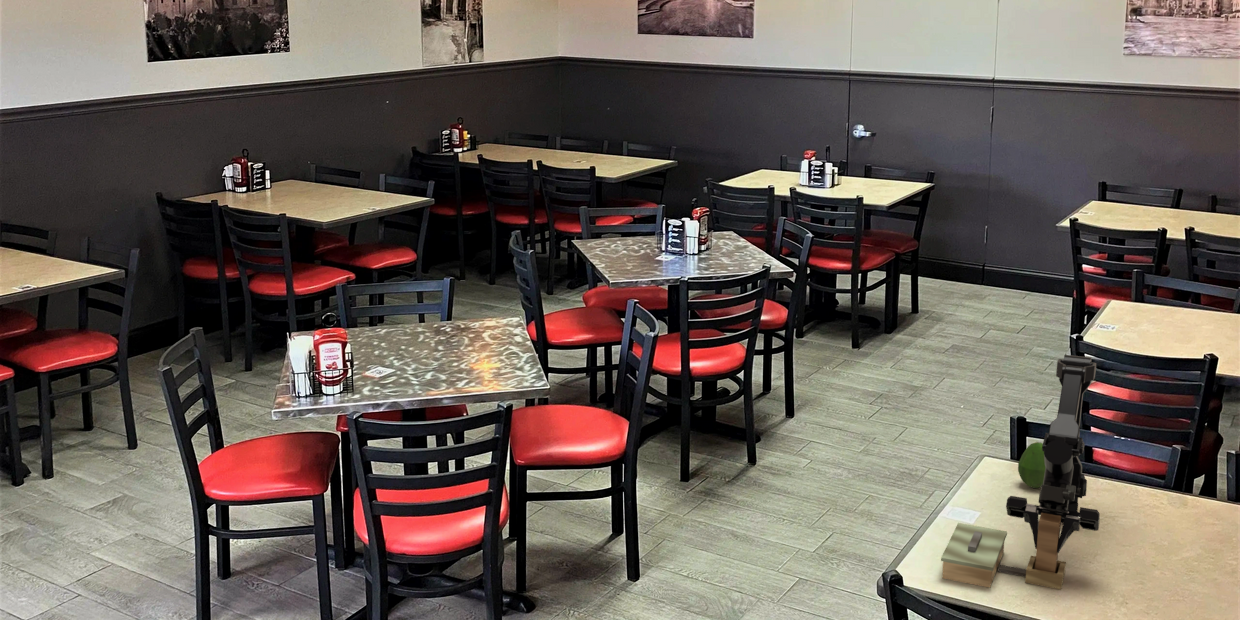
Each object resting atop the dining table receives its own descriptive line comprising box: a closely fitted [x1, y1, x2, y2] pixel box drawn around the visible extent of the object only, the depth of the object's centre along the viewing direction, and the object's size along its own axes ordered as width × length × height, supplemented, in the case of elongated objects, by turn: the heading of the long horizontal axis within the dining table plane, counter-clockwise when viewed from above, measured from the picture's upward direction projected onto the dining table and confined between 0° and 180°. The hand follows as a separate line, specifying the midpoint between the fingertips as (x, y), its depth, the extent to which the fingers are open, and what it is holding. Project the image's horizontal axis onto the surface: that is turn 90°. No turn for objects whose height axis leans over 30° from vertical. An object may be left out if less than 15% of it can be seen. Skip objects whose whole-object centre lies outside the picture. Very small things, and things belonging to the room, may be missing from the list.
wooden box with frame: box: [940, 522, 1067, 590], centre depth 248 cm, size 19×24×6 cm
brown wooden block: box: [1035, 513, 1062, 573], centre depth 244 cm, size 4×4×14 cm
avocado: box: [1017, 441, 1046, 489], centre depth 290 cm, size 8×8×12 cm
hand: (1046, 550), depth 242 cm, fingers closed on brown wooden block, 4 cm apart
